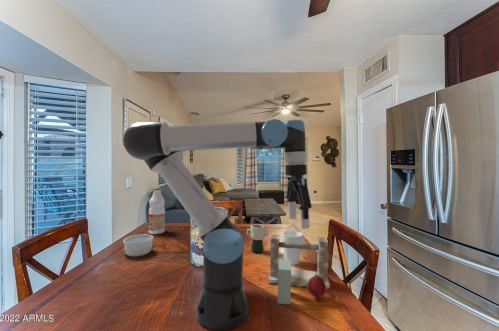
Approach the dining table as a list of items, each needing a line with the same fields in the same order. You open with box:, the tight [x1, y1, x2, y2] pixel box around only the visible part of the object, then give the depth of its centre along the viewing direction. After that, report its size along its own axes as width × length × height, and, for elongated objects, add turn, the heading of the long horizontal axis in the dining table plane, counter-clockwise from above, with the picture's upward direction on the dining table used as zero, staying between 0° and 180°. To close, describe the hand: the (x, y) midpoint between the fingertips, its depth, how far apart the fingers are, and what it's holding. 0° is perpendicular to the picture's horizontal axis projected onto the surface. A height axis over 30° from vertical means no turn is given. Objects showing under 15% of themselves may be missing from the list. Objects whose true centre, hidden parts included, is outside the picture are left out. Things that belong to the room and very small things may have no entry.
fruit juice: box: [148, 186, 166, 235], centre depth 149 cm, size 9×9×28 cm
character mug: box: [246, 223, 269, 253], centre depth 120 cm, size 11×7×13 cm, turn 85°
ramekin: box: [122, 233, 154, 257], centre depth 117 cm, size 13×13×7 cm
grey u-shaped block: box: [277, 258, 292, 305], centre depth 80 cm, size 4×8×11 cm, turn 171°
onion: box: [307, 274, 327, 299], centre depth 79 cm, size 6×6×8 cm
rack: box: [267, 234, 331, 289], centre depth 92 cm, size 22×10×16 cm, turn 81°
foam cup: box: [281, 230, 304, 266], centre depth 108 cm, size 10×9×13 cm
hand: (298, 223), depth 86 cm, fingers open, 13 cm apart
